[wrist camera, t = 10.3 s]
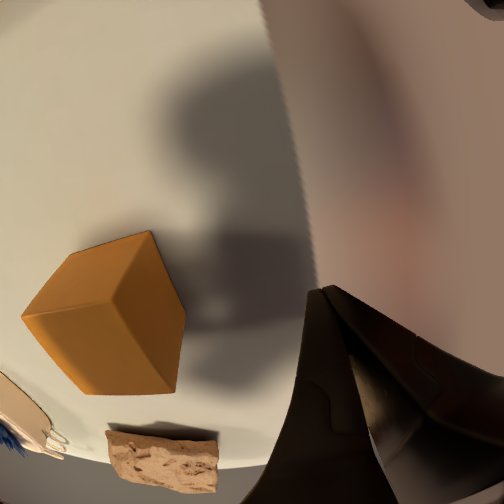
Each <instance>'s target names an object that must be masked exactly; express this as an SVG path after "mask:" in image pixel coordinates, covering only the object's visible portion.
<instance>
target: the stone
mask: <svg viewBox="0 0 504 504" xmlns="http://www.w3.org/2000/svg"><path fill="white" fill-rule="evenodd" d="M105 435H106V436H107V439H108V451H109V458H110V462H111V464H112V465H113V467H114V468H115V470H116V472H117V473H118V475H119V477H121V478H123V479H126V480H128V481H131V482H134V483H143V484H148V485H154V486H163V487H167V488H169V489H171V490H175V491H179V492H181V493H206V492H216V490H217V483H218V477H219V474H218V470H217V463H218V460H219V457H218V453H219V450H218V446H217V444H216V442H215V441H212V440H208V441H198V442H193V441H190V440H186V441H180V440H179V441H173V440H170V439H167V438H161V437H153V436H143V435H137V434H132V433H124V432H119V431H112V430H107V431H105Z"/></svg>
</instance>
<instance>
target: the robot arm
mask: <svg viewBox="0 0 504 504" xmlns="http://www.w3.org/2000/svg"><path fill="white" fill-rule="evenodd" d="M483 1H484V3H485V4H486V6H487V7H488V8H489V9H504V0H483ZM296 374H297V376H296V378H295V384H294V389H293V394H292V398H291V403H290V406H289V409H288V412H287V415H286V418H285V421H284V424H283V427H282V429H281V432H280V434H279V437H278V439H277V442H276V444H275V447H274V449H273V452H272V454H271V456H270V459H269V461H268V463H267V465H266V467H265V469H264V471H263V473H262V475H261V476H260V478H259V480H258V481H257V483H256V484H255V486H254V487H253V488H252V489H251V491H250V492H249V493H248V495H247V496H246V497H245V498H244V499H243V501H242V502H241V503H240V504H504V377H502V376H497V375H493V374H491V373H489V372H486V371H484V370H482V369H480V368H478V367H476V366H474V365H472V364H470V363H467V362H465V361H463V360H461V359H459V358H457V357H455V356H453V355H451V354H449V353H447V352H445V351H443V350H441V349H440V348H438V347H436V346H434V345H433V344H431V343H429V342H428V341H426V340H424V339H423V338H421V337H420V336H417V337H416V334H415V333H413V332H411V331H410V330H408V329H406V328H405V327H403V326H402V325H400V324H398V323H396V322H395V321H393V320H392V319H390V318H389V317H387V316H385V315H384V314H382V313H380V312H378V311H377V310H375V309H374V308H372V307H370V306H369V305H367V304H365V303H364V302H362V301H361V300H359V299H357V298H356V297H354V296H352V295H350V294H349V293H347V292H346V291H344V290H342V289H341V288H339V287H337V286H335V285H330V286H327V287H323V288H322V289H315V290H311V291H309V292H308V294H307V303H306V311H305V319H304V327H303V334H302V341H301V348H300V354H299V361H298V367H297V373H296ZM367 426H368V427H367ZM368 428H369V431H370V433H371V435H372V438H373V440H374V443H375V445H376V447H377V450H378V452H379V455H380V457H381V460H382V462H383V464H384V467H385V470H386V473H387V475H388V478H389V481H390V483H391V486H392V488H393V490H392V488H391V486H390V484H389V482H388V480H387V479H386V476H385V474H384V473H383V470H382V468H381V466H380V464H379V463H378V460H377V458H376V456H375V453H374V451H373V448H372V444H371V440H370V436H369V431H368ZM393 491H394V492H393ZM0 504H8V503H6V502H4V501H2V500H1V499H0Z"/></svg>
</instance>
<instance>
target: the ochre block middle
mask: <svg viewBox="0 0 504 504" xmlns="http://www.w3.org/2000/svg"><path fill="white" fill-rule="evenodd" d="M21 319H22V320H23V322H24V323H25V324H26V326H27V327H28V329H29V330H30V331H31V333H32V334H33V335H34V337H35V338H36V339H37V341H38V342H39V343H40V345H41V346H42V347H43V348H44V350H45V351H46V352H47V353H48V355H49V356H50V357H51V358H52V359H53V361H54V362H55V363H56V364H57V365H58V366H59V367H60V369H61V370H62V371H63V372H64V373H65V374H66V375H67V376H68V377H69V379H70V380H71V381H72V382H73V383H74V384H75V385H76V386H77V387H78V388H79V389H80V390H81V391H82V392H83V393H84V394H86V395H153V394H169V393H175V390H176V382H177V374H178V366H179V359H180V352H181V345H182V338H183V331H184V325H185V319H186V313H185V311H184V309H183V307H182V304H181V302H180V300H179V298H178V296H177V294H176V291H175V289H174V287H173V285H172V283H171V280H170V278H169V276H168V273H167V271H166V269H165V266H164V264H163V262H162V259H161V257H160V255H159V252H158V250H157V247H156V245H155V242H154V240H153V237H152V235H151V232H150V231H146V232H143V233H139V234H136V235H133V236H129V237H126V238H122V239H119V240H116V241H113V242H109V243H106V244H103V245H100V246H96V247H93V248H90V249H87V250H84V251H81V252H78V253H75V254H72V255H69V257H68V258H67V259H66V260H65V261H64V262H63V263H62V265H61V266H60V267H59V268H58V269H57V270H56V272H55V273H54V274H53V275H52V276H51V278H50V279H49V280H48V281H47V282H46V284H45V285H44V286H43V287H42V289H41V290H40V291H39V293H38V294H37V295H36V296H35V298H34V299H33V300H32V302H31V303H30V304H29V306H28V307H27V309H26V310H25V311H24V313H23V314H22V316H21Z"/></svg>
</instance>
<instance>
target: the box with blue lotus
mask: <svg viewBox="0 0 504 504" xmlns="http://www.w3.org/2000/svg"><path fill="white" fill-rule="evenodd" d="M50 429H51V424H50V421H49V419H48V418H47V416H46V415H45V414H44V412H43V411H42V410H41V409H40V408H39V407H38V406H37V405H36V404H35V403H34V402H33V401H32V400H31V399H30V398H29V397H28V396H27V395H26V394H25V393H24V392H22V391H21V390H20V389H19V388H18V387H17V386H16V385H15V384H13V383H12V382H11V381H10V380H9V379H8V378H6V377H5V376H4V375H3V374H2V373H1V372H0V444H3V442H4V443H5V444H6V446H7V447H8V448H9V449H10V451H11V448H12V449H13V446H14V448H15V449H16V450H17V451H18V452H19V453H20V454H21V455H22V456H23V457H24V454H23V452H24V453H25V454H26V452H25V450H24V449H23V447H25V448H27V449H29V450H32V451H34V452H38V453H42V452H43V453H45V454H48V455H50V456H52V457H55V458H58V459H62V460H64V457H63V456H61V455H59V454H57V453H56V452H54V451H52V450H50V449H49V448H47V447H46V444H47V445H49V446H50V447H52V448H54V449H56V450H59V451H62V452H66V451H67V449H66V447H65V446H64V445H63V444H62V443H61V442H60V441H59V440H57V439H56V438H55V437H54V436H53V435H51V433H50ZM48 436H49V437H51V438H53V439H54V440H55V441H57V442H58V443H59V444H60V445H61V446H62V447H63V448H64V449H59V448H57V447H55V446H53V445H51V444H49V443H48V442H47V440H46V439H47V438H48ZM12 445H13V446H12ZM22 446H23V447H22ZM20 448H21V449H22V451H23V452H22V451H21V449H20ZM44 450H47V451H49V452H51V453H53V454H55V455H53V454H50V453H48V452H45V451H44Z"/></svg>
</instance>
